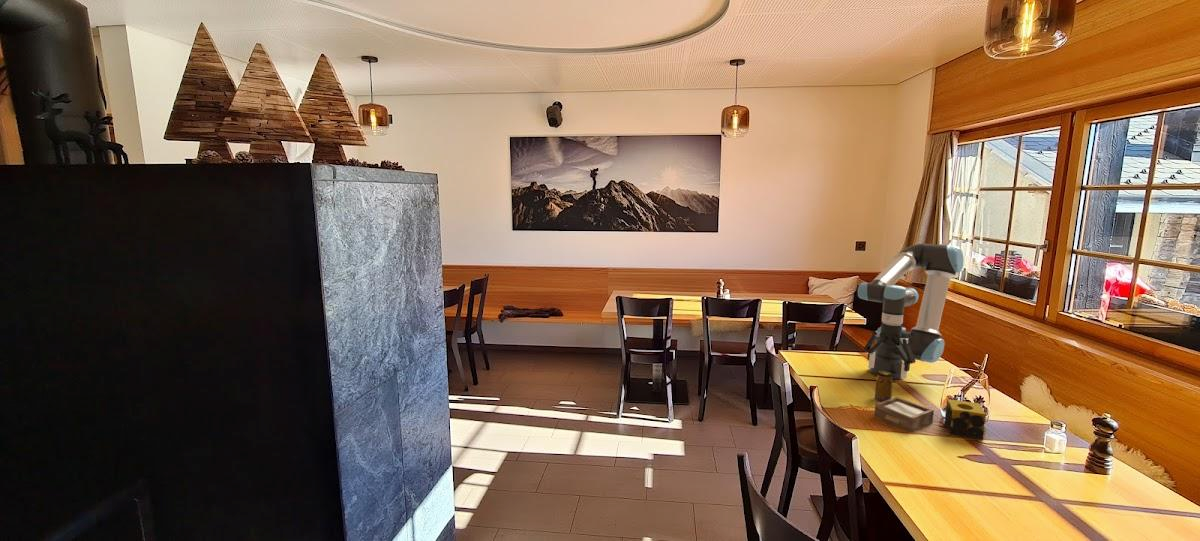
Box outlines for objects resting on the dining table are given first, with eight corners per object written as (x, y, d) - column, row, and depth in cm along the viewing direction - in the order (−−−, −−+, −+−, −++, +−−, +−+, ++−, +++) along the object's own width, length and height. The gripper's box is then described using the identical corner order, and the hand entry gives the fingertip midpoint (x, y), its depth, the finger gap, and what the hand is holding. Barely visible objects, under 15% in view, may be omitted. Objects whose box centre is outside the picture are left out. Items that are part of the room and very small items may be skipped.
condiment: (877, 395, 212) (879, 368, 210) (899, 401, 205) (901, 374, 203) (870, 399, 207) (872, 372, 205) (892, 406, 201) (894, 378, 199)
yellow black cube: (976, 428, 182) (979, 403, 180) (984, 440, 173) (987, 414, 171) (943, 423, 186) (946, 398, 185) (949, 435, 177) (952, 409, 175)
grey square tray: (895, 408, 198) (896, 396, 197) (932, 423, 186) (933, 410, 185) (873, 416, 191) (875, 404, 191) (910, 431, 179) (912, 418, 178)
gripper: (857, 317, 210) (853, 365, 213) (918, 332, 188) (912, 384, 191) (868, 315, 213) (864, 362, 216) (929, 329, 192) (923, 381, 195)
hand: (886, 373), depth 204 cm, fingers open, 13 cm apart
